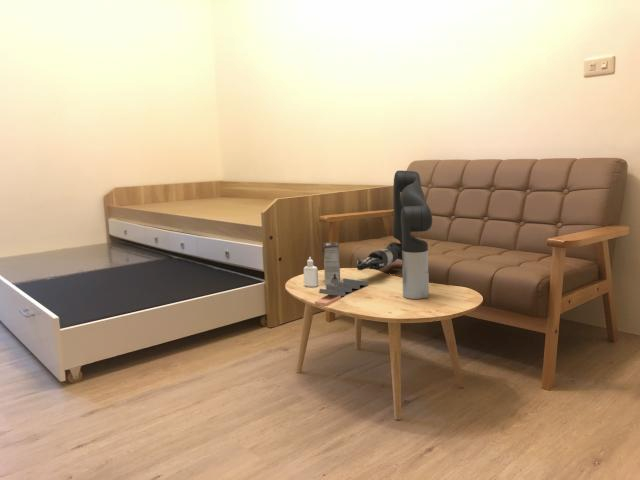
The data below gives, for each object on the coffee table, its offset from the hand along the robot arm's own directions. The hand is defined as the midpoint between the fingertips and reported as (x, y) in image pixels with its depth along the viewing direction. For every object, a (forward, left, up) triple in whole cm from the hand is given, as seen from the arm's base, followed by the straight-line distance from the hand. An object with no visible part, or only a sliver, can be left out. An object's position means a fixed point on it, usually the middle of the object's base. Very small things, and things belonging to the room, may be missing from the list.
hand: (359, 267), depth 211 cm
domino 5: (-1, -2, -7) cm, 7 cm away
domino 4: (+2, +3, -7) cm, 8 cm away
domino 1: (+7, +12, -7) cm, 15 cm away
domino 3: (+5, +7, -7) cm, 11 cm away
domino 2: (+8, +16, -7) cm, 19 cm away
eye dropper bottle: (+20, -1, -8) cm, 21 cm away
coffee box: (+12, -7, -8) cm, 15 cm away
